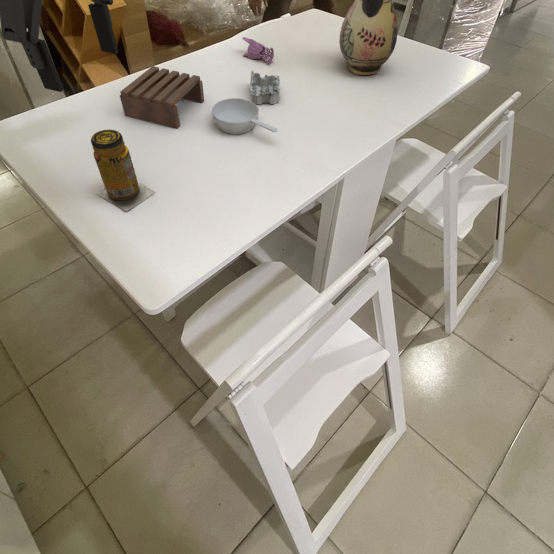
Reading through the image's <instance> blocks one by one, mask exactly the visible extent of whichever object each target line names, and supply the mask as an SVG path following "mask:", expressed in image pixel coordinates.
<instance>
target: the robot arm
mask: <svg viewBox="0 0 554 554" xmlns="http://www.w3.org/2000/svg"><path fill="white" fill-rule="evenodd" d="M90 1H91V2H92V3H89V4H88V5H87V6H88V7H87V8H88V11H89V14H90V17H91V20H92V23H93V27H94V30H95V33H96V38H97V40H98V44H99V47H100V50H101V52H103V53H109V54H115V55H117V54H118V53H119V49H118V45H117V41H116V37H115V33H114V30H113V21H112V17H111V13H110V9H109V6H112V5H113V4H114V0H90ZM42 9H43V0H0V29H1V36H2V38H3V39H4V40H6V41H10V42H15V43H19V44H20V45H22V49H23V50H24V52H25V55H26V57H27V59H28V62H29V64H30V65H31V67H32V68H34V69H36V71H37V74H38V76H39V79H40V80H41V83H42V85H43V88H44V89H45V90H50V91H55V92H59V93H61V92H63V91H65V88H64V86H63V83H62V81H61V78H60V74H59V73H58V70H57V68H56V66H55V63H54V60H53V57H52V55H51V53H50V50H49V48H48V45H47V42H46V40H45V39H41V38H40V29H41V28H40V26H41V18H42Z"/></svg>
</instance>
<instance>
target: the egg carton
mask: <svg viewBox="0 0 554 554" xmlns="http://www.w3.org/2000/svg"><path fill="white" fill-rule="evenodd" d="M249 89H250V93H251V102H253V103H254V104H256V105H262V104H264V103H267V104H270V105H275V104H276V103H279V102H280V91H281V82H280V76H279V75H276V74H275V75H274V74H271V75H268V74H265V75H264V76H263V77H261V74H260V73H258V72H254V70H251V71H250V85H249Z"/></svg>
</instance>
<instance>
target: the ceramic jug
mask: <svg viewBox="0 0 554 554" xmlns="http://www.w3.org/2000/svg"><path fill="white" fill-rule="evenodd" d="M397 40H398V19H397V14H396V9H395V7H394V4H393V0H354V1H353V3H352V4H351V6H350V7H349V8H348V11H347V12H346V15H345V16H344V19H343V22H342V25H341V27H340V33H339V41H338V43H339V48H340V52H341V54H342V56H343V58H344V59H345V61H346V66H347V69H348V70H349V71H350V72H352V73H354V74H355V75H357V76H358V75H359V76H360V75H361V76H362V75H363V76H365V75H366V76H367V75H375V74H378V73H379V72H380V71H381V67H382V66H383V65H384V64H385V63H387V61H388V60H389V59H390V57H391V56H392V54H393V53H394V50H395V48H396V45H397Z"/></svg>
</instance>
